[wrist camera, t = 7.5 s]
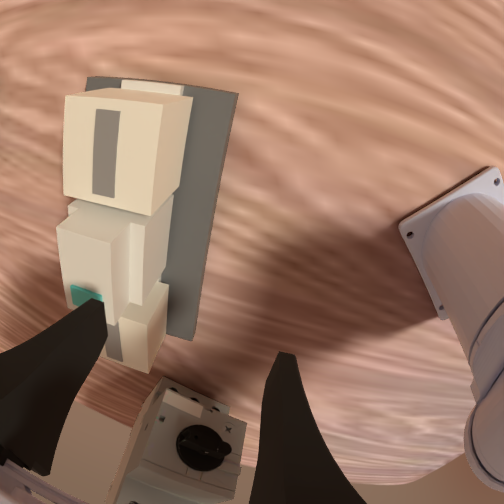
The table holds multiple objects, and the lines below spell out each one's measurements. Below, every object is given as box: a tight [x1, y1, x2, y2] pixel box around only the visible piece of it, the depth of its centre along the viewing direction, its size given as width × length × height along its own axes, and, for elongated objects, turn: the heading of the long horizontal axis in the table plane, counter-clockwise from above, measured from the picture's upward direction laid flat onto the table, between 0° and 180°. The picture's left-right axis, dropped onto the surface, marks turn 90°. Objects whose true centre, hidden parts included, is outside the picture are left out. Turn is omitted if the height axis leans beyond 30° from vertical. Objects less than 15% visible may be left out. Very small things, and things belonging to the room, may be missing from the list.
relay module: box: [56, 194, 174, 326], centre depth 16 cm, size 5×4×6 cm
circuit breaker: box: [105, 376, 247, 504], centre depth 24 cm, size 8×14×15 cm, turn 149°
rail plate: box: [63, 76, 239, 374], centre depth 18 cm, size 18×9×6 cm, turn 168°
